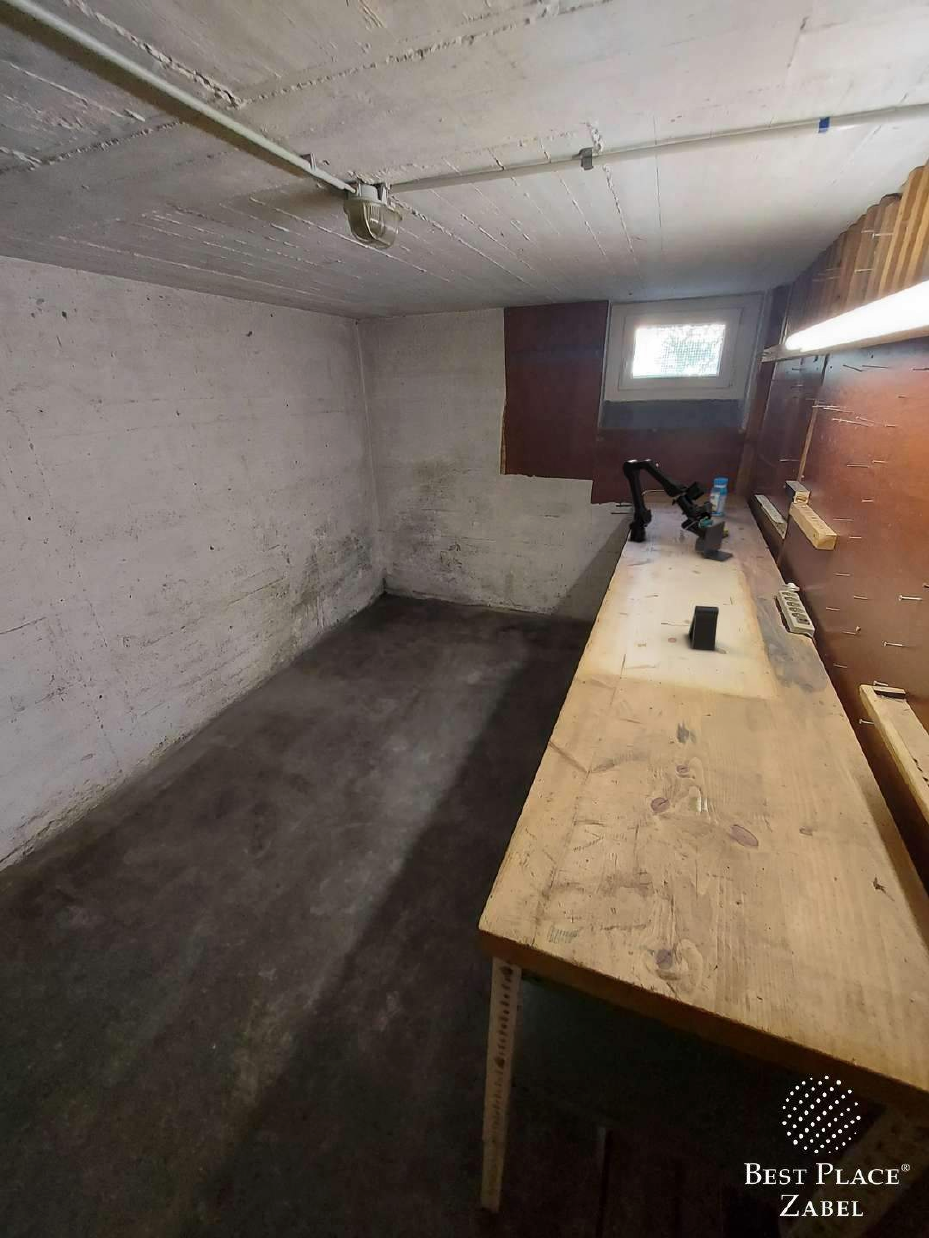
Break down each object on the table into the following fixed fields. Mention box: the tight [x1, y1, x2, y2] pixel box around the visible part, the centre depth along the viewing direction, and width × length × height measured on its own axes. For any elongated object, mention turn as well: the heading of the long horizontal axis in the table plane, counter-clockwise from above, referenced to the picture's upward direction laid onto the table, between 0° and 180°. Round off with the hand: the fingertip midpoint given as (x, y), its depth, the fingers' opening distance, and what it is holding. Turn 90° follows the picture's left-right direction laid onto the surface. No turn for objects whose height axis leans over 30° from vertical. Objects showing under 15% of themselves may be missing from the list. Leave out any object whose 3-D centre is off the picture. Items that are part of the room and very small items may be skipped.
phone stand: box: [687, 605, 720, 651], centre depth 145 cm, size 9×6×12 cm, turn 165°
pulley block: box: [699, 522, 730, 538], centre depth 241 cm, size 14×6×30 cm
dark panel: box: [702, 520, 734, 562], centre depth 214 cm, size 13×14×14 cm
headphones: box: [694, 519, 714, 553], centre depth 217 cm, size 4×7×13 cm, turn 131°
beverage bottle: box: [709, 477, 729, 517], centre depth 276 cm, size 8×8×20 cm
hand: (708, 534), depth 216 cm, fingers open, 9 cm apart
